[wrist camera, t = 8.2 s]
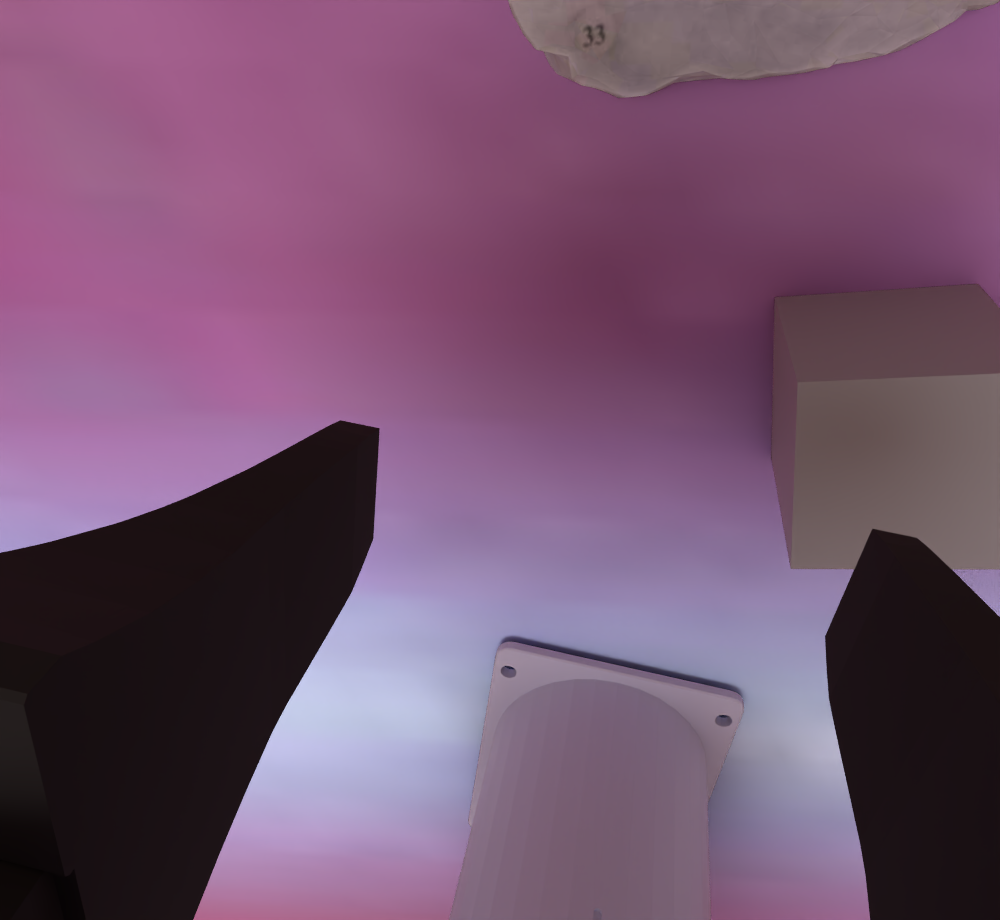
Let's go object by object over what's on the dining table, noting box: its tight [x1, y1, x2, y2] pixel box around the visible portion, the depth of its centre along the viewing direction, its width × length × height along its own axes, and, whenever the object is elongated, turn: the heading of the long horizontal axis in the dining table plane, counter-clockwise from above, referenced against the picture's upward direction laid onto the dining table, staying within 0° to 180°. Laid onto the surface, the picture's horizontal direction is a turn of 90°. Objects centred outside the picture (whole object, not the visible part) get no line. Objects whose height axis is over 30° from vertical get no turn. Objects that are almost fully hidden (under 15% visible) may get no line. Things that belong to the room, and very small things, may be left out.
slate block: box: [771, 284, 1000, 569], centre depth 19 cm, size 4×4×5 cm
